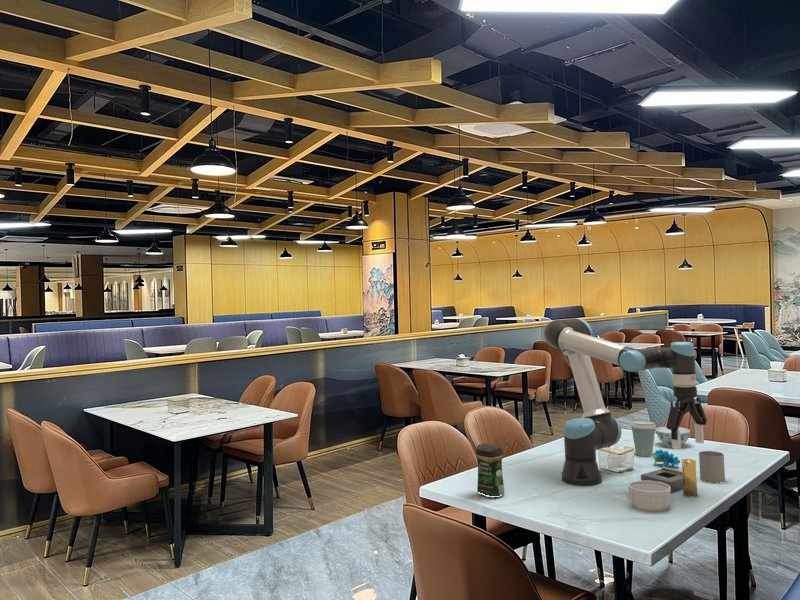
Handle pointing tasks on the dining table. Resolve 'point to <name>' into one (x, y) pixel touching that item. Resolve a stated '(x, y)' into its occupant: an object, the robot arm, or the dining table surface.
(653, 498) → the ramekin
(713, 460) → the cup
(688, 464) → the brass cylinder peg
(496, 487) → the coffee jar
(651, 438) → the disposable coffee cup
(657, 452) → the gear
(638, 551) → the dining table surface
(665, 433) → the chinaware
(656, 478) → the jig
